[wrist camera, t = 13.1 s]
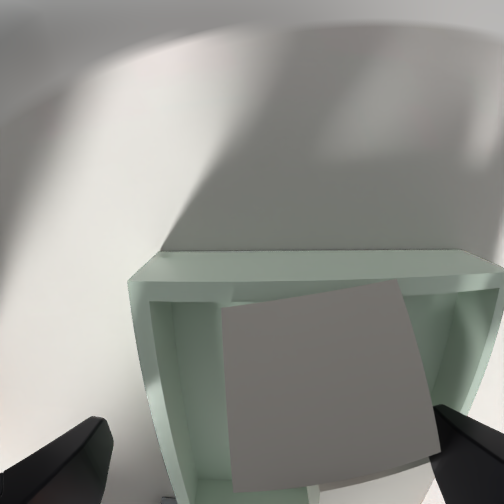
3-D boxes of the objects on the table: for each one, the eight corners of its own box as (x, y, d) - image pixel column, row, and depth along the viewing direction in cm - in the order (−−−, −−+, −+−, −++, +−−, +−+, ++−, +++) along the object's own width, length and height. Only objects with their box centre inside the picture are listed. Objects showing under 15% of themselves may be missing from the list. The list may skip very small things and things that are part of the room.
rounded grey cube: (387, 450, 12) (415, 513, 8) (302, 468, 12) (315, 540, 8) (400, 388, 11) (444, 456, 7) (301, 407, 11) (319, 492, 7)
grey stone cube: (390, 454, 8) (440, 452, 4) (260, 477, 8) (233, 492, 5) (367, 340, 10) (396, 278, 7) (249, 359, 10) (221, 307, 7)
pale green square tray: (404, 453, 13) (424, 493, 10) (190, 471, 13) (183, 519, 10) (461, 249, 10) (511, 271, 7) (158, 251, 10) (127, 281, 7)
